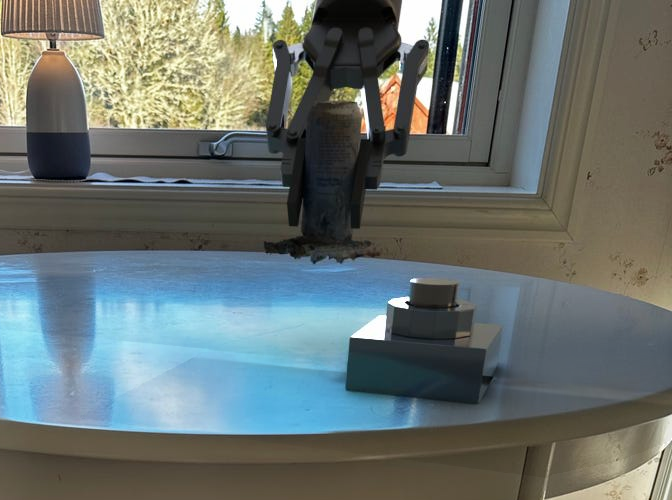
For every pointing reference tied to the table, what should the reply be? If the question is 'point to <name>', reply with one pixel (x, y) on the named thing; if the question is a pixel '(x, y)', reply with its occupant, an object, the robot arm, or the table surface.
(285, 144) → the robot arm
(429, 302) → the cylinder
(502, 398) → the table surface
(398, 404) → the table surface
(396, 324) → the grey stepped square block
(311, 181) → the beverage can
